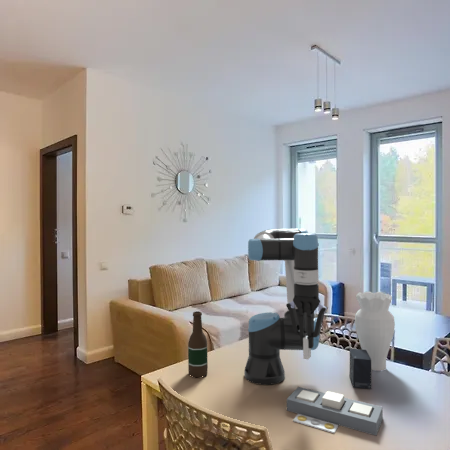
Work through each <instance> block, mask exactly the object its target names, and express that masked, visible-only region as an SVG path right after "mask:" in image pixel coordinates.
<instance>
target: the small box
mask: <svg viewBox="0 0 450 450" xmlns="http://www.w3.org/2000/svg"><path fill="white" fill-rule="evenodd" d="M349 379H350V382H351V384H352V388H357V389H367V390H370V389H371V390H372V370H371V358H370V356H369V354H368V353H367V351H366V350H362V348H360V349H359V348H349Z"/></svg>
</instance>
